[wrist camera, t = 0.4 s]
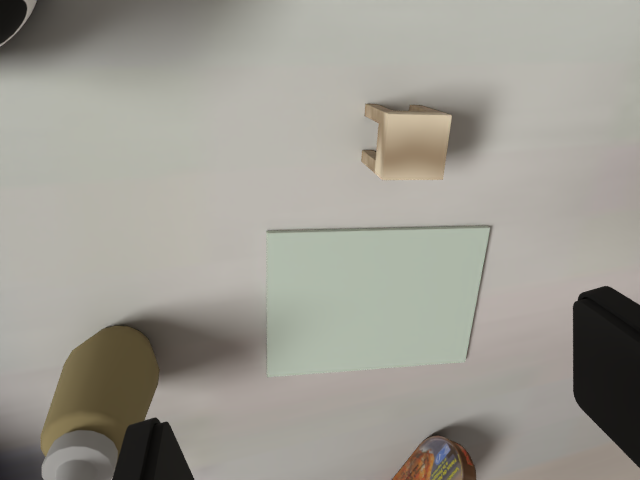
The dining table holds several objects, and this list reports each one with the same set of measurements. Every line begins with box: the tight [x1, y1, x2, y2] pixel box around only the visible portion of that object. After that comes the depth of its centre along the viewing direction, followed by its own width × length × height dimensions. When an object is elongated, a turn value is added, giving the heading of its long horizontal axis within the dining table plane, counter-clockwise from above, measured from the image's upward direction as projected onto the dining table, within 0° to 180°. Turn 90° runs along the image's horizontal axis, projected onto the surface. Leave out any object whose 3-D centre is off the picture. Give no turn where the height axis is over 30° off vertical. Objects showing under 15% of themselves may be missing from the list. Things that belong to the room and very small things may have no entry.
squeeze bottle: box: [41, 326, 159, 480], centre depth 38 cm, size 8×8×18 cm
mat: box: [267, 226, 490, 377], centre depth 49 cm, size 16×22×1 cm
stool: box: [361, 104, 452, 180], centre depth 40 cm, size 5×5×6 cm
